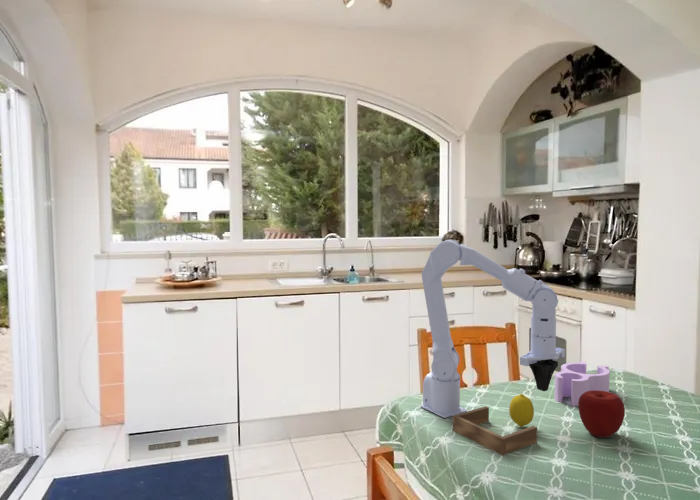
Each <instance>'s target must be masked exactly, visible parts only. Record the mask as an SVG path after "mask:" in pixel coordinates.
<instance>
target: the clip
mask: <svg viewBox="0 0 700 500" xmlns="http://www.w3.org/2000/svg"><path fill="white" fill-rule="evenodd" d="M610 375H611V373H610V370H609V366H608V365H598V366H597V367H596V373H593V374H592V373H587V362H586V361H582V360H579V362H568V363H567V362H566V363H564V364H562V365H561V366H560V371H557V372H556V373H554V400H555V401H556V402H558V403H563V398H566V397H567V398H571V399H570V401H571V402H570V405H571V406H572V407H578V402H579V398H580V396H581V395H582V394H583V393H585V392H587V391H593V390H597V391H606V392H610Z"/></svg>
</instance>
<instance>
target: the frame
mask: <svg viewBox="0 0 700 500" xmlns="http://www.w3.org/2000/svg"><path fill="white" fill-rule="evenodd" d="M489 415H490V407H488V406H486V405H485V406H481V407H478V408H475V409H471V410H467V412H464V413H461V414H457V415H454V416H452V431H453V432H455V433H457V434H460V435H461V436H463V437H465V438H467V439H469V440H470V441H473V442H475V443H477V444H480V446H482V447H485V448H487V449H489V450H491V451H493V452H495V453H497V454H500V456H505V455H508V454H511V453H513V452H515V451H519V450H521V449H524V448H527V447H529V446H531V445H534V444H537V441H538V440H537V439H538V427H537V426H534V425H532V426H529V427H526V428H522V429H520V430H517V431H515V432H512V433H509V434H506V435H500V434H499V433H495V432H494V431H492V430H489V429H487V428H484V427H483V426H481V425H482V424H485V423H488V422H490V417H489Z"/></svg>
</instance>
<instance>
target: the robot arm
mask: <svg viewBox="0 0 700 500" xmlns="http://www.w3.org/2000/svg"><path fill="white" fill-rule="evenodd" d="M459 261H460V262H459ZM458 262H459V266H474V267H475V268H477V269H479V270H481V271H483V272H484V273H486V274H488V275H490V276H492V277H494V278H496V279H497V280H499V281H500V282H501V285H502V289H504V290H506V291H508V292H510V293H511V294H512V295H515V296H516V297H518V298H520V299H521V300H524V301H525V302H530V303H531V304H532V307H531V310H532V311H531V315H530V350H529V351H528V352H526V353H525V354H524V355H521V356H519V365H520V366H524V367H529V368H530V370H531V372H532V375H533V377H534V380H535V384H536V388H537V390H539V391H541V392H547V391H549V386H550V383H551V380H552V377H553V375H554V374H555V370H556V369H557V368H558V366H559V362H558V361H557V360H559V359H560V358H565V357H566V349H565V348H561V347H557V346H556V343H557V340H556V339H557V338H556V337H557V317H556V312H557V310H556V308H557V307H558V305H559V299H558V295H557V294H556V292H555V291H554V289H553V288H552V287H550V286H549V285H548V284H546V283H544V282H543V280H542V279H539V280H537V279H536V278H534V277H532V276H530V275H529V274H527V273H526V270H525V269H523V268H519V269H518V268H516V267H513V268H509V269H508V268H505V267H504V266H503V265H501V264H499V263H497V262H496V261H494V260H493V259H491V258H490V257H488V256H486V255H485V254H483V253H482V252H480V251H478V250H477V249H475V248H472V247H470V246H468V245H466V244H464V243H460V242H458V241H457V240H455V239H446V240H444V241H442V242H440V243H438V244H437V245H436V246H435V247H433V249H432V250H431V251H430V253H429V255H428V259H427V261H426V263H425V265H424V266H423V269H422V271H421V281H422V285H423V292H424V297H425V304H426V309H427V314H428V315H427V316H428V321H429V328H430V334H431V339H432V358H433V359H432V363H431V368H430V369H431V371H430V372H429V373H427V374H426V375H425V376H424V379H423V383H422V403H421V404H420V407H421V408H422V409H425V410H427V411H428V412H431V413H434V414H435V415H436V416H439V417H442V418H443V419H446V418H450V417H453V416H454V415H457V414H461V413H464V412H468V409H466V408H464V407H462V406H460V405H461V401H460V400H461V398H460V397H461V374H460V373H459V372H458V366H459V363H460V355H459V352H458V351H457V350H456V348H455V346H454V342H453V339H452V335H451V329H450V323H449V317H448V311H447V305H446V299H445V294H444V288H443V287H444V286H443V282H442V277H443V276H444V275H445V274H446V272H447V271H448V270H449V269H450V268H452V267H453V266H454V265H456V264H457V263H458Z"/></svg>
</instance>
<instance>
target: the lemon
mask: <svg viewBox="0 0 700 500" xmlns="http://www.w3.org/2000/svg"><path fill="white" fill-rule="evenodd" d="M534 409H535V408H534V405H533V402H532V399H530V398H529V397H528V396H526V395H524V394H523V393H520V394H517V395H516V396H514V397H513V398H512V399H511V400H510V402H509V411H508V412H509V416H510V418H511V420H512V421H513V423H514V424H516V425H518V426H519V427H520V428H524V427H525V426H527V425H529V424H530V423H531V422H532V421H533V419H534V415H535V410H534Z"/></svg>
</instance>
